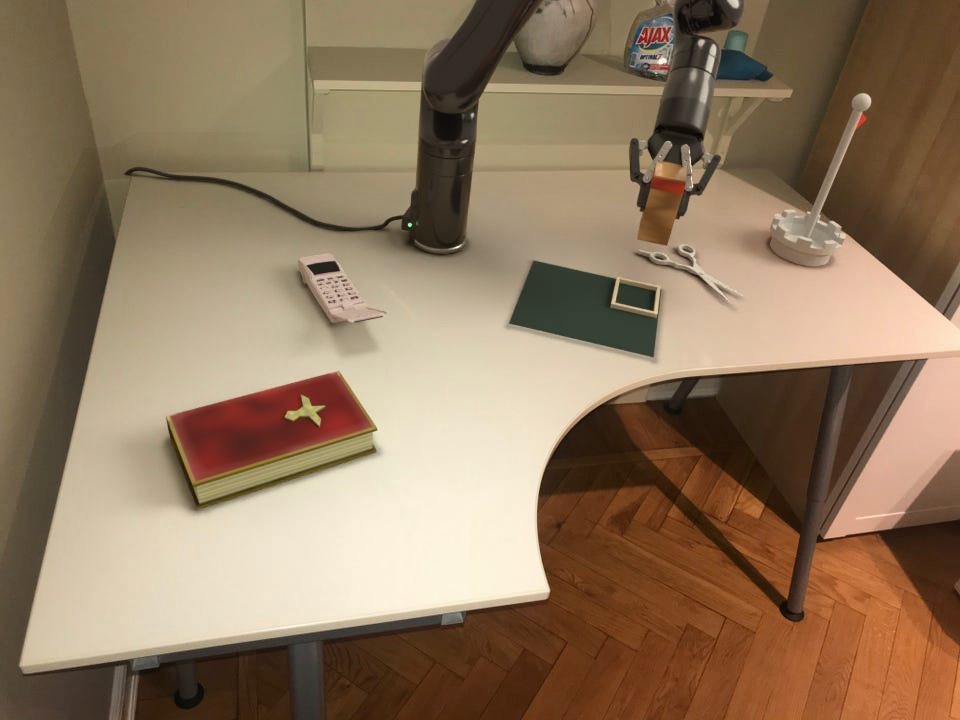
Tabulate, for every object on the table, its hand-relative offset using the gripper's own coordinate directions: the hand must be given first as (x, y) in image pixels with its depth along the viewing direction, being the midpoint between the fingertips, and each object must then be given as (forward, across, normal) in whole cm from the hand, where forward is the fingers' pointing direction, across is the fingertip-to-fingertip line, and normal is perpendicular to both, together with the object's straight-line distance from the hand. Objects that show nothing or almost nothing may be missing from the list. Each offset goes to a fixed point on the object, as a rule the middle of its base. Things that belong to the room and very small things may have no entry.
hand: (660, 213), depth 113 cm
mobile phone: (+25, -44, -1) cm, 50 cm away
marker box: (+2, 0, +4) cm, 5 cm away
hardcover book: (+46, -39, -22) cm, 64 cm away
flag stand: (-11, +29, +35) cm, 47 cm away
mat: (+14, -7, +10) cm, 18 cm away
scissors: (+2, +10, +22) cm, 25 cm away
